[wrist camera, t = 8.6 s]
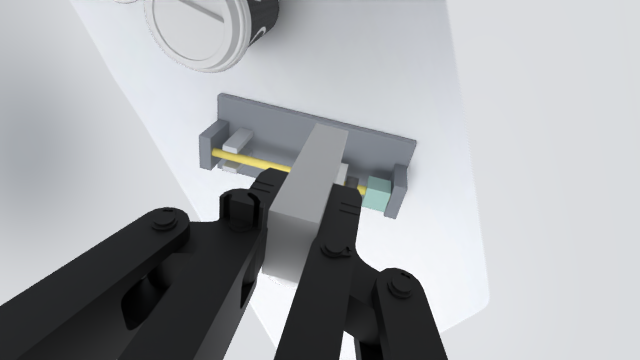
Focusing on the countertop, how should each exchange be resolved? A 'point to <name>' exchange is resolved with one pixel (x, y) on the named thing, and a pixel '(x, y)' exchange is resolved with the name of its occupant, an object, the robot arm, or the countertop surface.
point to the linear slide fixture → (288, 140)
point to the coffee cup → (209, 29)
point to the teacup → (124, 1)
